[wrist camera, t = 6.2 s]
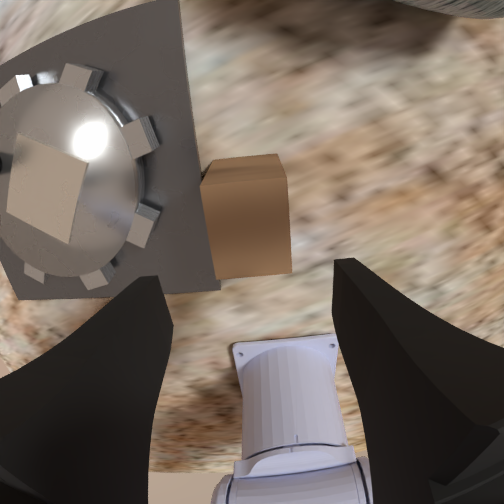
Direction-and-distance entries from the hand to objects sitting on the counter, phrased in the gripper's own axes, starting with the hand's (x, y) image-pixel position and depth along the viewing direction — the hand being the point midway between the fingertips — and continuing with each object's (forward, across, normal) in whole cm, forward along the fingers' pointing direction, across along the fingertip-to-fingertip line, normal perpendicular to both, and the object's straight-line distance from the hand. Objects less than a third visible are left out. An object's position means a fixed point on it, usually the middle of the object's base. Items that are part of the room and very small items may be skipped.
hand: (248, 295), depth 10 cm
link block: (+10, 0, 0) cm, 10 cm away
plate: (+9, +12, -3) cm, 15 cm away
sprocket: (+9, +12, -3) cm, 15 cm away
